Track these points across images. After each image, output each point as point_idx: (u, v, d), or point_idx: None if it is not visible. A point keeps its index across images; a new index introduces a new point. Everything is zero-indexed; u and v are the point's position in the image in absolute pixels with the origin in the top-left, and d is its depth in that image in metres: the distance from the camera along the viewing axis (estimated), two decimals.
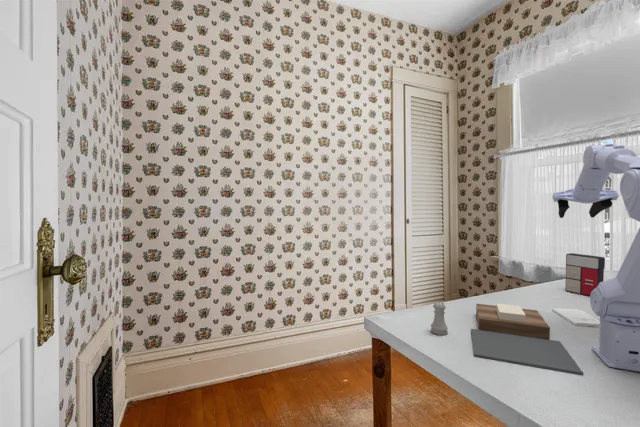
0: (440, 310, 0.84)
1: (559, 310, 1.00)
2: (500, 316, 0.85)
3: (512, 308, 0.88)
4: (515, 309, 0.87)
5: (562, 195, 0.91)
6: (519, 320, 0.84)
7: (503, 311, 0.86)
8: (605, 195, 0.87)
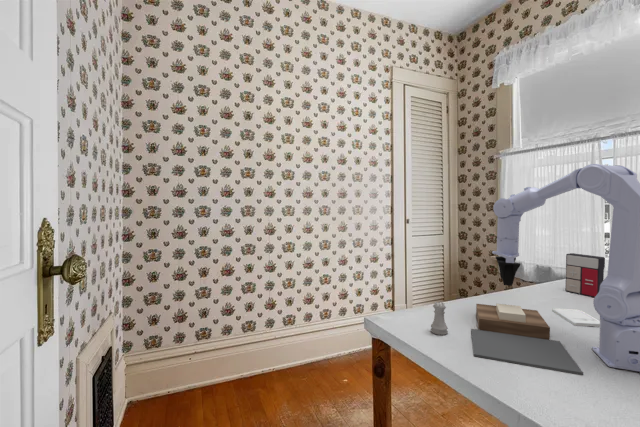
0: (440, 310, 0.84)
1: (559, 310, 1.00)
2: (500, 316, 0.85)
3: (512, 308, 0.88)
4: (515, 309, 0.87)
5: (509, 256, 0.91)
6: (519, 320, 0.84)
7: (503, 311, 0.86)
8: None
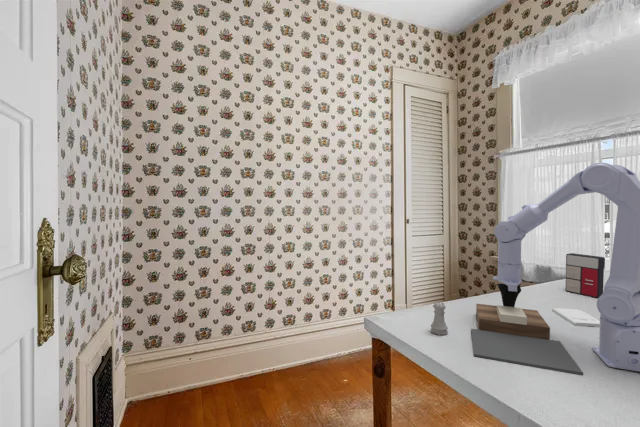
0: (440, 310, 0.84)
1: (559, 310, 1.00)
2: (501, 318, 0.84)
3: (513, 310, 0.86)
4: (516, 311, 0.86)
5: (512, 283, 0.86)
6: (520, 322, 0.82)
7: (504, 313, 0.84)
8: None
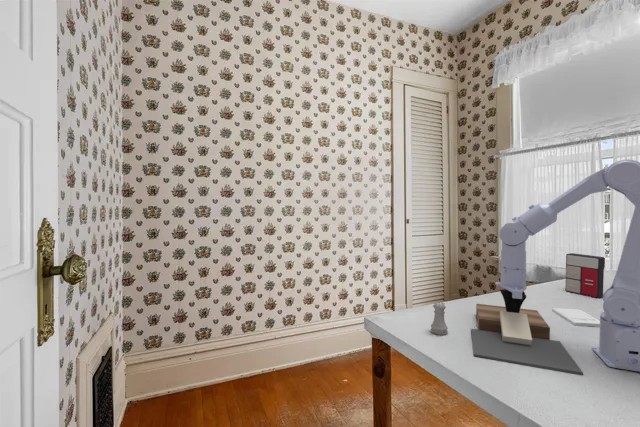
0: (440, 310, 0.84)
1: (559, 310, 1.00)
2: (504, 339, 0.78)
3: (517, 323, 0.80)
4: (521, 325, 0.79)
5: (516, 290, 0.79)
6: (524, 343, 0.77)
7: (507, 333, 0.78)
8: None
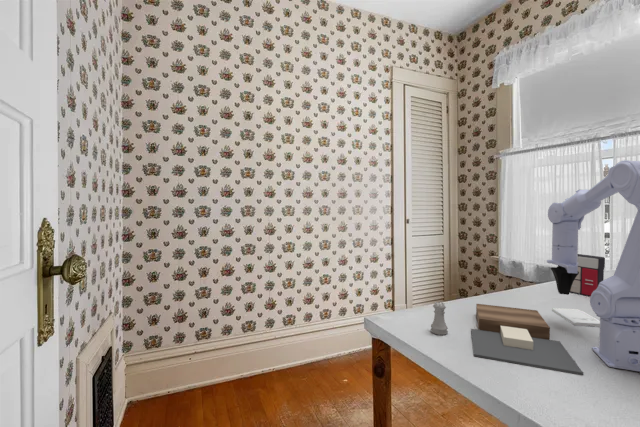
0: (440, 310, 0.84)
1: (559, 310, 1.00)
2: (504, 342, 0.76)
3: (517, 332, 0.79)
4: (521, 333, 0.78)
5: None
6: (526, 347, 0.75)
7: (508, 336, 0.77)
8: None
